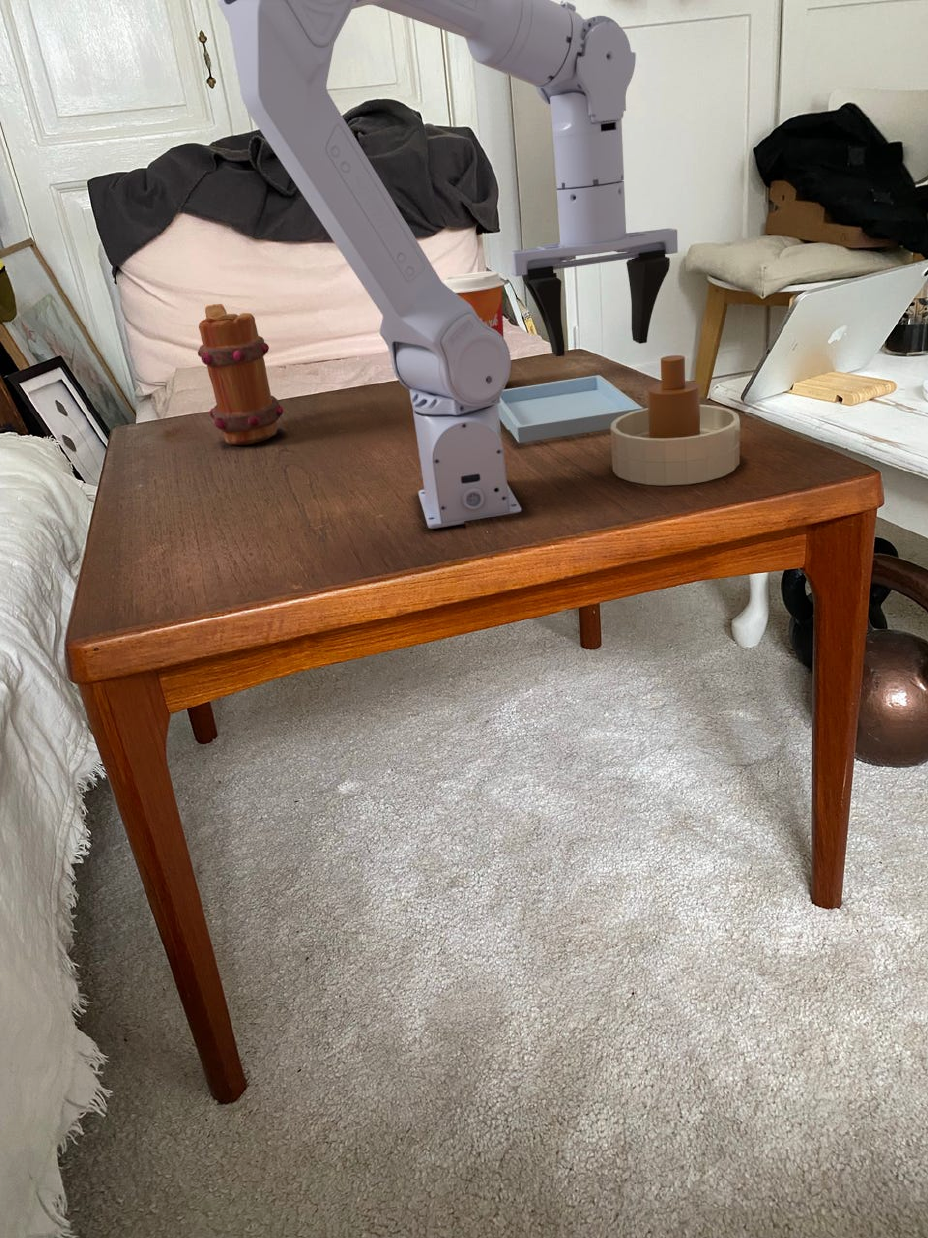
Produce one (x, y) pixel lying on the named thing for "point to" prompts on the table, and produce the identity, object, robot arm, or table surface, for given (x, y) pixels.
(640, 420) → the bowl
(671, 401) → the bottle
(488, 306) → the paper cup
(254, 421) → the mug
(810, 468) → the table surface
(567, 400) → the tray
